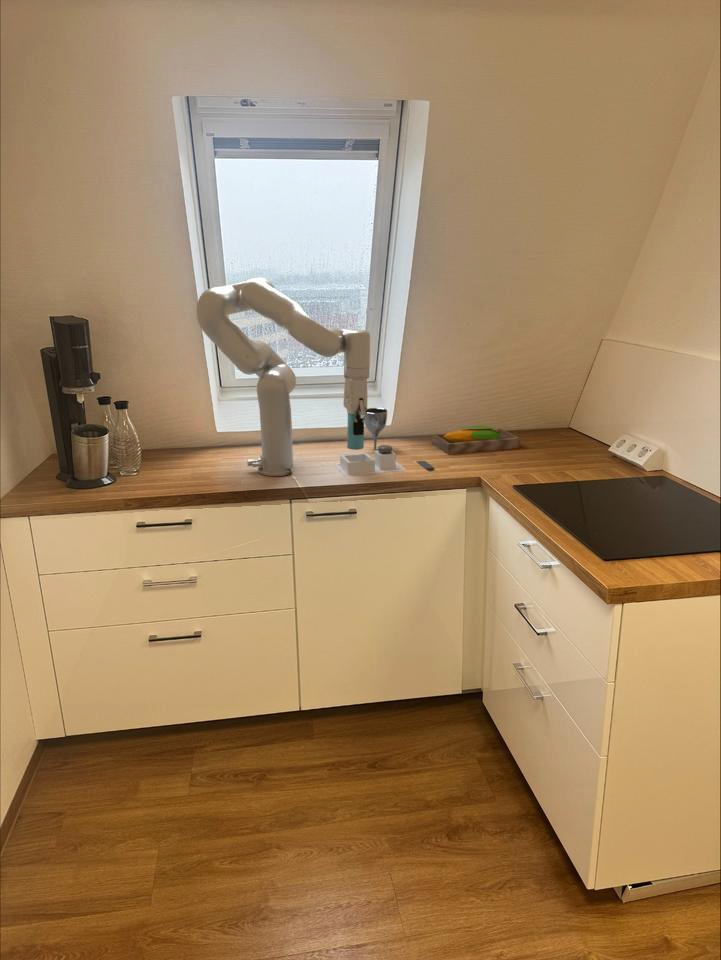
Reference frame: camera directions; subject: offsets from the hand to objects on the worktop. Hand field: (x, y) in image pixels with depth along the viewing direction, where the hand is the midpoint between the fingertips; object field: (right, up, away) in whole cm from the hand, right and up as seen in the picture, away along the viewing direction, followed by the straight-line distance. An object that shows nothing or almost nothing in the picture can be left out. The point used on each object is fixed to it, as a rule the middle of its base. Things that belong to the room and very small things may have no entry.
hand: (355, 431), depth 203 cm
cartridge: (0, -5, +2) cm, 5 cm away
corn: (+41, -3, +33) cm, 53 cm away
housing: (+4, -12, +5) cm, 14 cm away
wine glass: (+6, -6, +25) cm, 26 cm away
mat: (+20, -11, +10) cm, 24 cm away
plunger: (+9, -10, +6) cm, 15 cm away
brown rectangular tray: (+42, -3, +34) cm, 54 cm away
